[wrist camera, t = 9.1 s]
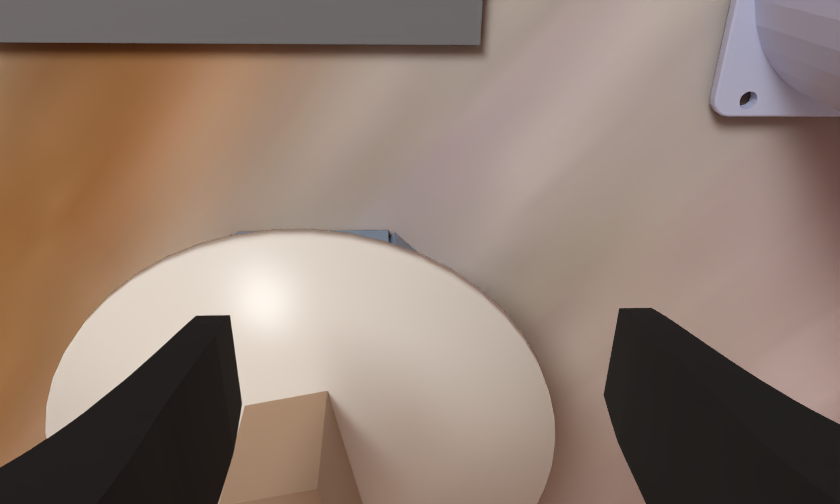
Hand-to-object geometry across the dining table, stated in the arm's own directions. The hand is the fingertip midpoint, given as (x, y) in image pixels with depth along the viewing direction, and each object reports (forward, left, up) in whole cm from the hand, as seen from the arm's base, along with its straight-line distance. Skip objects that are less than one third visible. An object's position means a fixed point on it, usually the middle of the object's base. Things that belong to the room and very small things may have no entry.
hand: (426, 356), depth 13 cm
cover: (+3, +8, -6) cm, 10 cm away
